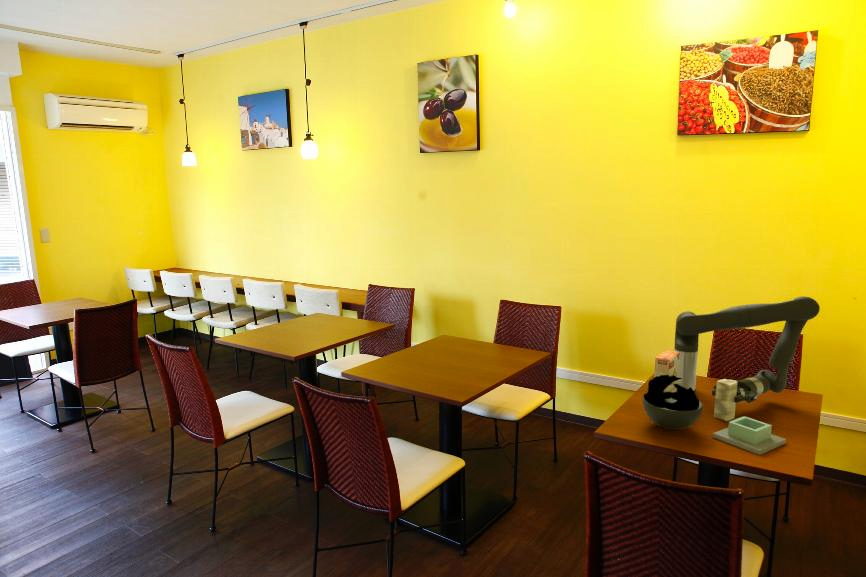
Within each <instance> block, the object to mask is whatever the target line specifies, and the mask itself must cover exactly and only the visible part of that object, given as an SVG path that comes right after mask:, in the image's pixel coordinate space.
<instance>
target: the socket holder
mask: <svg viewBox="0 0 866 577" xmlns="http://www.w3.org/2000/svg"><path fill="white" fill-rule="evenodd" d="M772 427H773V425H772V424H769V423H766V422H763V421H759V420H757V419H754V418H751V417H748V416H741V417H738V418H735V419H732V420H729V421H728V427H726V428H723V429H721V430H718V431H716V432H712V438H714V439H715V440H716V439H717V440H719V441H721V442H724V443H727V444H730V445H732V446H734V447H738V448H739V449H742V450H745V451H747V452H751V453H753V454H756V455H758V456H760V455H763V454H765V453H767V452H769V451H771V450H774V449H776V448H778V447H780V446H783V445H785V444H786V442H787V438H783V437H780V436H778V435H775V434H772Z"/></svg>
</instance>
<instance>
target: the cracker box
mask: <svg viewBox="0 0 866 577" xmlns="http://www.w3.org/2000/svg"><path fill="white" fill-rule="evenodd" d="M679 355H680V353H679V352H675V351H673V350H667V349H665V350H664V351H663V352H661V353H660V354H659V355H657V356H656V357H655V360H654V372H653V373H654V375H653V378H654V377H656V376H658V377H659V376H660V375H669V376H672V375H674V376H676V377H678V366H679ZM673 384H677V381H674V382H672V383H671V384H670V385H669V386H668V387H667V388H666V389H665V390H664V392H677V390H676V388H675V387H674V385H673Z"/></svg>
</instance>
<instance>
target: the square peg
mask: <svg viewBox="0 0 866 577" xmlns="http://www.w3.org/2000/svg"><path fill="white" fill-rule="evenodd" d="M730 380H731V379H726V378H723V379H719V380H717V381H716V396H714V397H715V398H714V410H713V411H714V412H713V417H714V418H716V419H719V420H722V421H725V422H730V421H732V420H735V416H736V414H735V413H736V404H737V403H735V402H734V397H735V396H736V394H737V383H738V382H734V381H730Z"/></svg>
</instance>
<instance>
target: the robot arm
mask: <svg viewBox="0 0 866 577" xmlns="http://www.w3.org/2000/svg"><path fill="white" fill-rule="evenodd" d="M820 309H821V308H820V304H819V303H818V302H817V301H816V300H815V299H814V298H812V297H810V296H798V297H795V298H793V299H791V300H787V301H781V302H775V303H748V304H741V305H735V306H731V307H728V308H723V309H720V310H719V311H716V312H712V313H705V314H696V313H695V312H693V311H683V312H681V313H679V315H677V317H676V319H675V333H674V348H673V349H674V351H675V352H679V353H680V355H679V366H678V377H679V378H682V379H679V380H677V384H679V385H680V386H682V387H685V388H686V389H689V388H692V389H693V391H694V392H695V390H696V382H697V368H698V355H699V341H700V340H699V336H700V334H705V333H710V332H715V331H726V330H727V331H728V330H738V329H748V328H753V327H754V328H755V327H759V326H764V325H770V324H773V323H778V322H785V323H784V325H783V328H782V331H781V334H780V336H779V338H778V340H777V342H776V344H775V346H774V349H773V351H772V353H771V355H770V357H769V360H768V363H769V365H770V366H772V367H774V368H775V370H776V371H777V372H776V373H775V372H773V371H770V370H768V369H761V370H759V371H758V372H757V374H755V375H754V376H752V377H747V378H743V379H739V380H736V381H737V382H738V383H737V394H736V396H735V397H734V402H735V403H736V404H737V403H741V402H742V403H743V402H744V403H745V402H746V403H748V404H751V403H753V402H755V401H758V396H760V395H763V394H766V393H767V392H769V391H771V392H773V393H777V394H779V393H782V392H783V391H784V390H785V389H786V387H787V380H788V373H789V366H790V365H791V362H792V361H793V358H794V355H795V353H796V351H797V347H798V345H799V344H798V343H799V340H800V336H801V334H802V331H803V329H804V327H805V326H806V324H807V323H808V322H809V321H810V320H812V319H814V318H815V317H817V316H818V314H819V313H820V311H821V310H820ZM716 385H717V384H716ZM716 385H713V389H712V390H711V396H713V397H716ZM676 391H677V389H676Z"/></svg>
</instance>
